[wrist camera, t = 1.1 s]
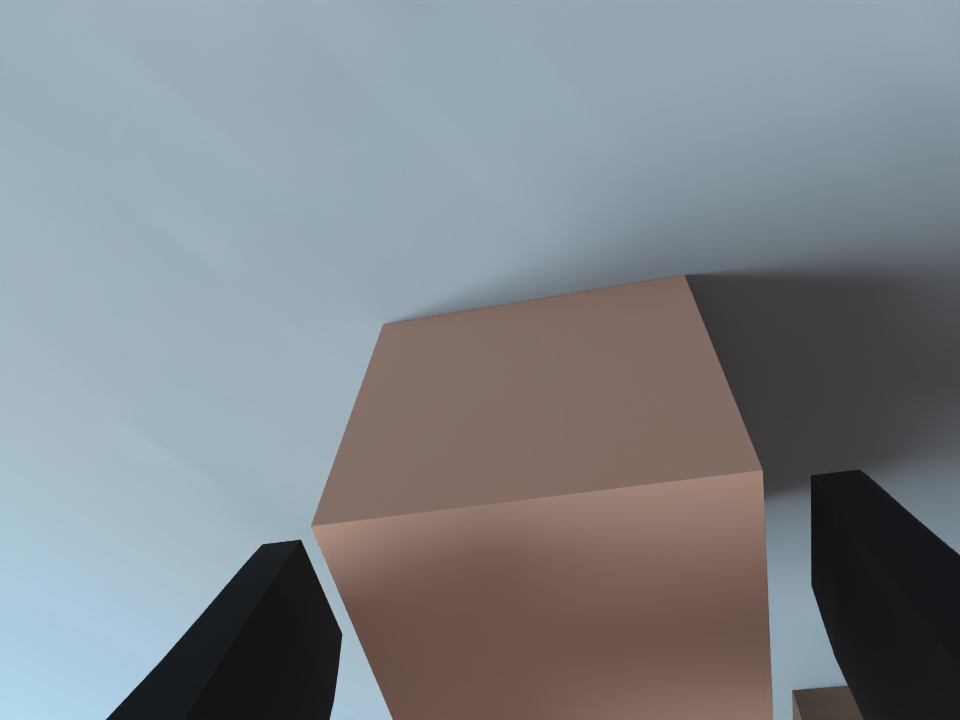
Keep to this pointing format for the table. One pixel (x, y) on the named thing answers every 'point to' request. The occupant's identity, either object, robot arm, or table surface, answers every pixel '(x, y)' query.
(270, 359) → the table surface
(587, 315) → the terracotta cube
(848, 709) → the walnut base block
